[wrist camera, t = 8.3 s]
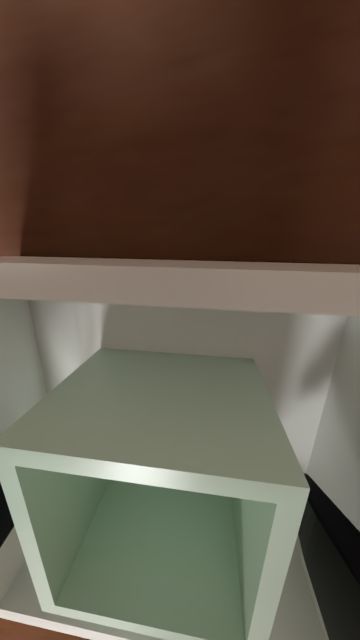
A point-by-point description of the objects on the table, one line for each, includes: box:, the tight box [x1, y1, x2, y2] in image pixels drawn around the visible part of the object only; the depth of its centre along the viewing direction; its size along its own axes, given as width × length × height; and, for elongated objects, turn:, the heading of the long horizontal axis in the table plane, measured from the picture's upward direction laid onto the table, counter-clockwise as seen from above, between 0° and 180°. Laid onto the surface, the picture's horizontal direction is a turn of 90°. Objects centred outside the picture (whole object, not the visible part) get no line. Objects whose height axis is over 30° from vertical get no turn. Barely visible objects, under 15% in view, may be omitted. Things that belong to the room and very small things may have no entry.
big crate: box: [0, 256, 360, 640], centre depth 8 cm, size 14×14×5 cm
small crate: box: [0, 348, 310, 640], centre depth 8 cm, size 6×6×5 cm
